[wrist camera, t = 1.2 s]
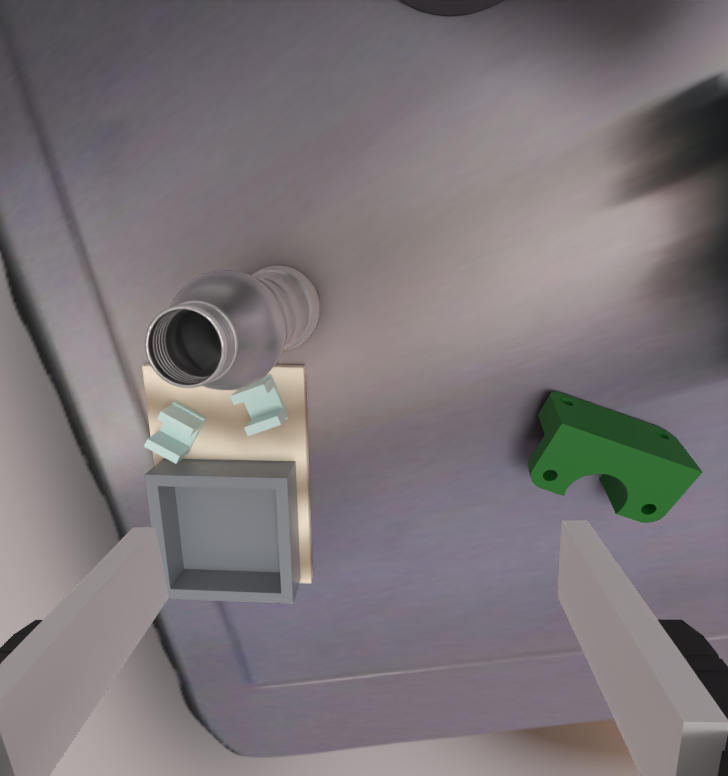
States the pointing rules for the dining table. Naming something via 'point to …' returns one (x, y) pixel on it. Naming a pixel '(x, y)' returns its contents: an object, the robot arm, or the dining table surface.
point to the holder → (227, 528)
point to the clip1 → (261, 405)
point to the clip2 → (176, 432)
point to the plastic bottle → (231, 327)
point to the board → (230, 439)
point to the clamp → (611, 457)
